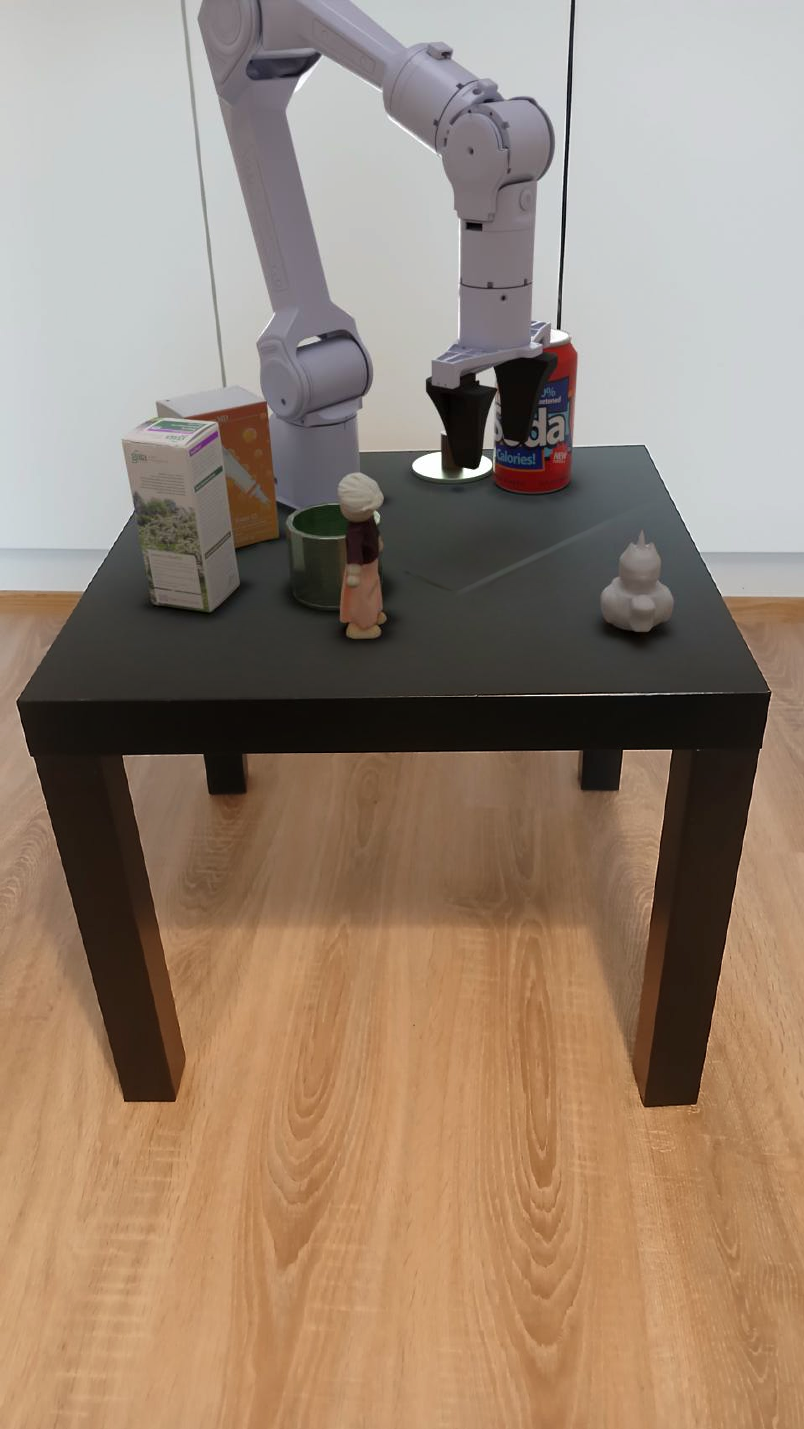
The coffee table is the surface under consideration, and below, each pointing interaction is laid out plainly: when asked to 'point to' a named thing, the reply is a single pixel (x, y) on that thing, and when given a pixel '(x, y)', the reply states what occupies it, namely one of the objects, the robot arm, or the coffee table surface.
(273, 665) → the coffee table surface
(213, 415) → the small box
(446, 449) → the pot lid
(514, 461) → the soda can
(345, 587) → the grandmother figurine
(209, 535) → the syrup box
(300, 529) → the pot
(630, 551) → the horned animal figurine
